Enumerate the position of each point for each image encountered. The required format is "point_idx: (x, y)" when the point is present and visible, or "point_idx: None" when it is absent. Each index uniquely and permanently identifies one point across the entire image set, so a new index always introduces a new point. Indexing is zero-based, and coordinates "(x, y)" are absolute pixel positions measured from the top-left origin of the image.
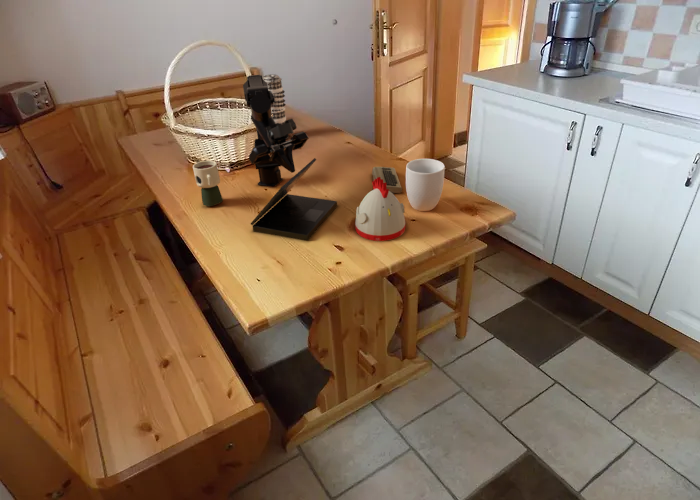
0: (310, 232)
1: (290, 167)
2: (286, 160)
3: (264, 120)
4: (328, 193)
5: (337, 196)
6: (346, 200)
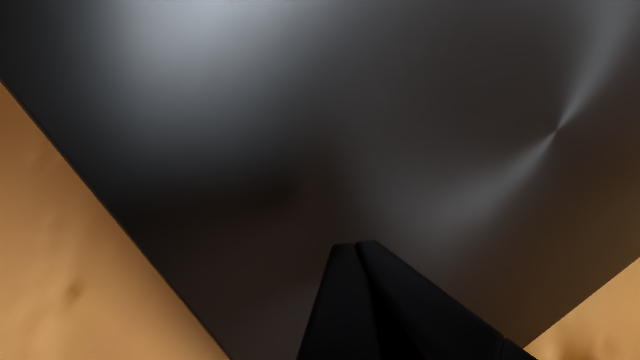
0: None
1: (408, 268)
2: (487, 354)
3: None
4: (23, 326)
5: (14, 236)
6: (17, 145)
